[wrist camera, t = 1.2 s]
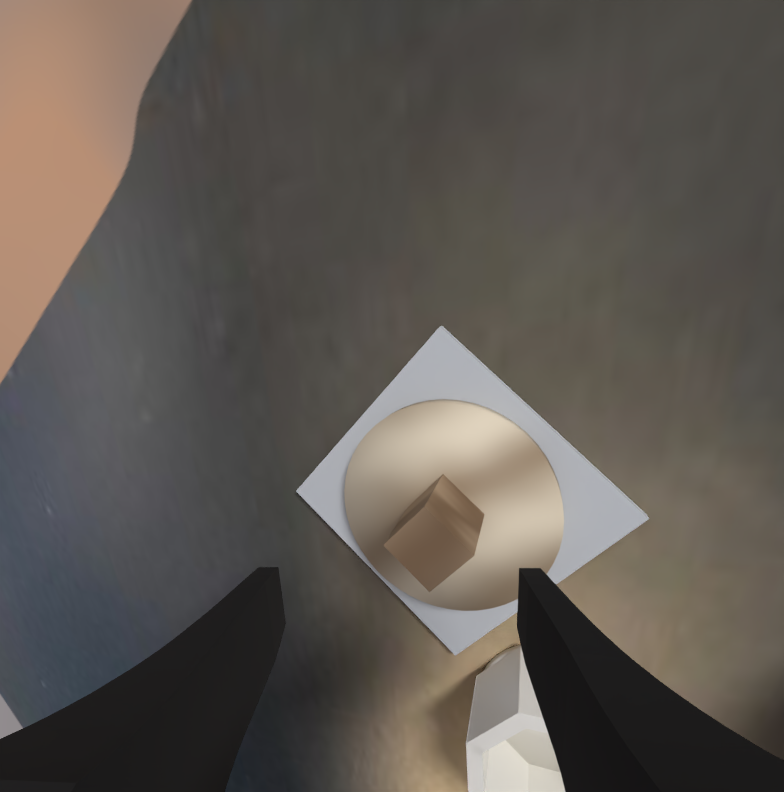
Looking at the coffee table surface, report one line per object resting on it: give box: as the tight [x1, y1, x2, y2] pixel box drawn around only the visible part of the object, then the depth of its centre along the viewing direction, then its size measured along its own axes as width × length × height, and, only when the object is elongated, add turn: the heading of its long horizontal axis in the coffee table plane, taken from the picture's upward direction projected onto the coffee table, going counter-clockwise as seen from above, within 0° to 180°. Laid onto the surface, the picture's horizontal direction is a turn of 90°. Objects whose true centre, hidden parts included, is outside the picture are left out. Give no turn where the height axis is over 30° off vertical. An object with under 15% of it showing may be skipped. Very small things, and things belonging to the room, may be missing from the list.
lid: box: [344, 399, 564, 611], centre depth 21 cm, size 12×12×5 cm
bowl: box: [466, 645, 565, 792], centre depth 22 cm, size 9×9×5 cm
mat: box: [296, 326, 649, 656], centre depth 24 cm, size 14×14×1 cm
